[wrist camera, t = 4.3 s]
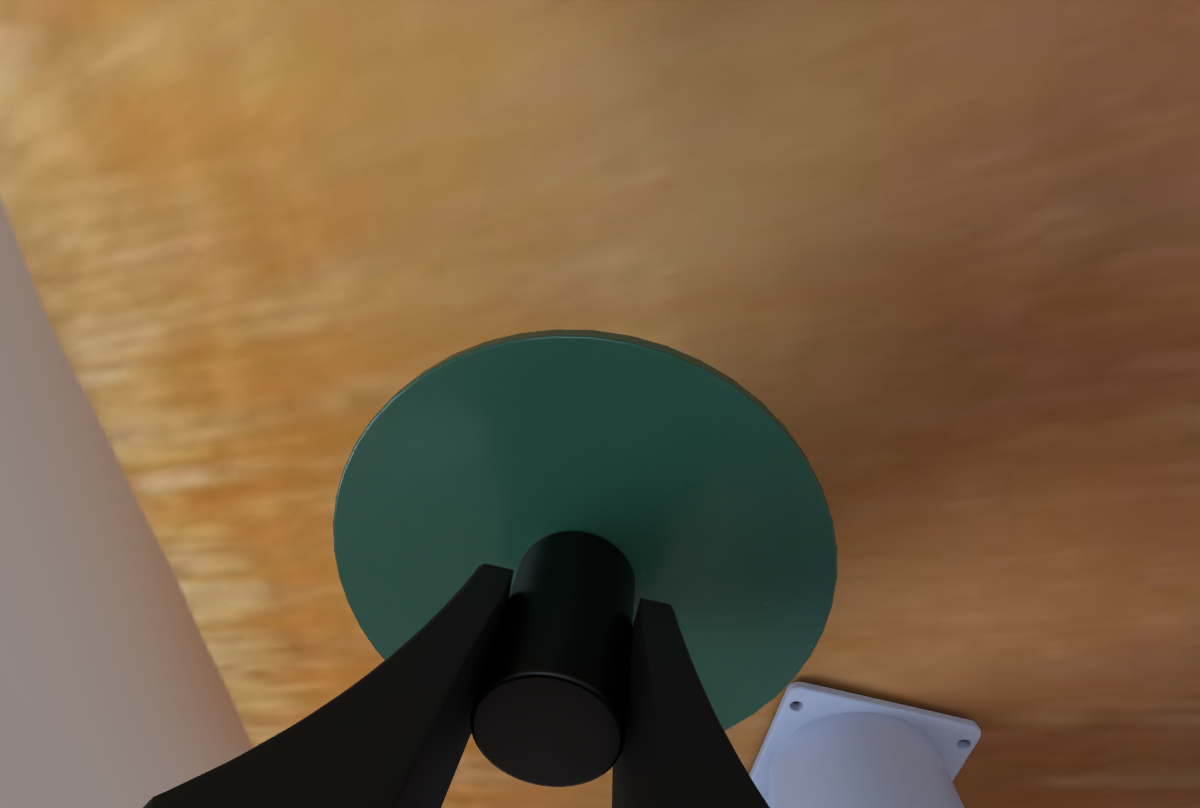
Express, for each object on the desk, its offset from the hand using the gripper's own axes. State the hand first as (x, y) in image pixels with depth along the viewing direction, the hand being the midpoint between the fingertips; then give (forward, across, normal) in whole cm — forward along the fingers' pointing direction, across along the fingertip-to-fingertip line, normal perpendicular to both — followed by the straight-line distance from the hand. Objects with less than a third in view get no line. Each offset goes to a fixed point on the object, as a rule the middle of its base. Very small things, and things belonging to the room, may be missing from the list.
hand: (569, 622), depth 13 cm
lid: (+2, 0, 0) cm, 2 cm away
